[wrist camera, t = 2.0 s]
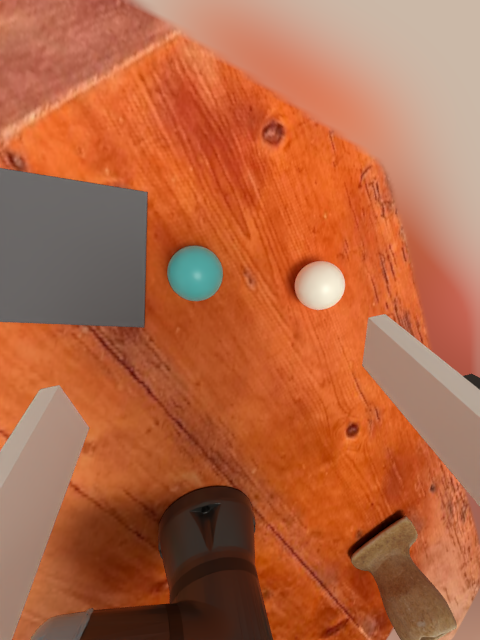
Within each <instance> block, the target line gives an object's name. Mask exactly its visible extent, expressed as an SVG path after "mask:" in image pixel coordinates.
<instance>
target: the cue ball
mask: <svg viewBox="0 0 480 640" xmlns="http://www.w3.org/2000/svg"><path fill="white" fill-rule="evenodd" d="M344 289H345V280H344V277H343V274H342V272H341V271H340V270H339V268H338V267H336V266H335V265H334V264H332V263H329V262H325V261H316V262H312V263H310V264H308V265H306V266H305V267H303V268H302V269H301V270H300V272H299V273H298V275H297V277H296V280H295V292H296V295H297V297H298V299H299V300H300V302H301V303H302V304H304V305H305V306H307V307H308V308H311V309H315V310H323V309H327V308H330V307H332V306H333V305H335V304H336V303H337V302H338V301H339V300H340V299H341V297H342V295H343V293H344Z"/></svg>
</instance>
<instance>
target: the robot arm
mask: <svg viewBox="0 0 480 640" xmlns="http://www.w3.org/2000/svg"><path fill="white" fill-rule="evenodd" d="M362 366H363V367H364V368H365V369H366V371H367V372H368V373H369V374H370V375H371V377H372V378H373V379H374V380H375V381H376V383H377V384H378V385H379V386H380V387H381V389H382V390H383V391H384V392H385V393H386V395H387V396H388V397H389V398H390V399H391V401H392V402H393V403H394V404H395V405H396V407H397V408H398V409H399V410H400V411H401V413H402V414H403V415H404V416H405V417H406V419H407V420H408V421H409V422H410V423H411V425H412V426H413V427H414V428H415V429H416V431H417V432H418V433H419V434H420V435H421V437H422V438H423V439H424V440H425V441H426V443H427V444H428V445H429V446H430V447H431V449H432V450H433V451H434V452H435V453H436V455H437V456H438V457H439V458H440V459H441V461H442V462H443V463H444V464H445V465H446V467H447V468H448V469H449V470H450V471H451V473H452V474H453V475H454V476H455V477H456V479H457V480H458V481H459V482H460V483H461V485H462V486H463V487H464V488H465V489H466V491H467V492H468V493H469V494H470V495H471V496H472V497H473V499H474V500H475V501H476V502H477V504H478V505H479V506H480V378H479V377H477V376H475V375H473V374H469V375H465V376H462V375H460V374H459V373H458V372H457V371H455V370H454V369H453V368H452V367H450V366H449V365H448V364H447V363H446V362H444V361H443V360H442V359H441V358H439V357H438V356H437V355H436V354H434V353H433V352H432V351H431V350H429V349H428V348H427V347H426V346H424V345H423V344H422V343H421V342H419V341H418V340H417V339H416V338H414V337H413V336H412V335H411V334H409V333H408V332H407V331H406V330H404V329H403V328H402V327H401V326H399V325H398V324H397V323H396V322H394V321H393V320H392V319H391V318H389V317H388V316H387V315H386V314H384V315H379V316H375V317H370V318H368V325H367V333H366V341H365V348H364V356H363V364H362ZM88 430H89V427H88V425H87V424H86V422H85V421H84V420H83V418H82V417H81V415H80V414H79V412H78V411H77V410H76V408H75V407H74V405H73V404H72V402H71V401H70V400H69V398H68V397H67V395H66V394H65V393H64V391H63V390H62V388H61V387H60V385H58V386H53V387H49V388H44V389H40V390H39V392H38V393H37V395H36V396H35V398H34V399H33V401H32V402H31V404H30V406H29V407H28V409H27V410H26V412H25V413H24V415H23V417H22V418H21V420H20V421H19V423H18V424H17V426H16V428H15V429H14V431H13V432H12V434H11V435H10V437H9V438H8V440H7V442H6V443H5V445H4V446H3V448H2V449H1V451H0V640H12V638H13V635H14V633H15V630H16V627H17V624H18V622H19V619H20V616H21V614H22V611H23V608H24V605H25V603H26V600H27V597H28V594H29V592H30V589H31V586H32V583H33V581H34V578H35V575H36V573H37V570H38V567H39V564H40V562H41V559H42V556H43V553H44V551H45V548H46V545H47V542H48V540H49V537H50V534H51V532H52V529H53V526H54V523H55V521H56V518H57V515H58V512H59V510H60V507H61V504H62V501H63V499H64V496H65V493H66V491H67V488H68V485H69V482H70V480H71V477H72V474H73V471H74V469H75V466H76V463H77V460H78V458H79V455H80V452H81V449H82V447H83V444H84V441H85V439H86V436H87V433H88ZM254 532H255V516H254V512H253V509H252V505H251V502H250V500H249V499H248V497H247V496H246V495H245V494H243V493H242V492H240V491H238V490H236V489H233V488H229V487H209V488H204V489H200V490H197V491H194V492H191V493H189V494H187V495H185V496H183V497H182V498H180V499H179V500H177V501H176V502H174V503H173V504H172V505H171V506H170V507H169V508H168V509H167V510H166V512H165V513H164V514H163V516H162V518H161V520H160V523H159V529H158V549H159V552H160V556H161V558H162V559H163V563H164V568H165V572H166V577H167V581H168V585H169V590H170V604H159V605H147V606H136V607H125V608H113V609H102V610H93V608H92V609H90V608H89V609H88V610H87V611H85V612H79V613H72V614H65V615H59V616H55V617H52V618H50V619H48V620H47V621H45V622H44V623H43V624H42V625H41V626H40V627H39V628H38V629H37V630H36V631H35V633H34V634H33V636H32V637H31V639H30V640H273V638H272V634H271V629H270V625H269V621H268V617H267V613H266V609H265V605H264V601H263V597H262V593H261V589H260V585H259V580H258V576H257V572H256V568H255V549H254Z"/></svg>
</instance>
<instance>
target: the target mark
mask: <svg viewBox="0 0 480 640" xmlns="http://www.w3.org/2000/svg"><path fill="white" fill-rule="evenodd" d="M146 233H147V192H143V191H137V190H131V189H125V188H119V187H113V186H106V185H100V184H94V183H88V182H82V181H76V180H70V179H64V178H57V177H51V176H45V175H39V174H33V173H27V172H21V171H14V170H8V169H2V168H0V322H20V323H45V324H71V325H96V326H121V327H144V321H145V277H146Z"/></svg>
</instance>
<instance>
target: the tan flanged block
mask: <svg viewBox="0 0 480 640" xmlns="http://www.w3.org/2000/svg"><path fill="white" fill-rule="evenodd" d="M416 539H417V532H416V529H415V527H414V526H413V524H412V522H411V521H410V520H409V519H408V518H407V516H404V517H402V518H401V519H399V520H398V521H396V522H395V523H393V524H392V525H390V526H388V527H387V528H386V529H384V530H383V531H381V532H380V533H378V534H377V535H376V536H374V537H373V538H372V539H370V540H369V541H368V542H366V543H365V544H364V545H363V546H362V547H360V548H359V549H358V550H357V551H356V552H355V553H354V554H353V555H352V557H351V561H352V563H353V565H354V566H355V567H356V568H358V569H360V570H364V571H369V572H371V573H372V575H373V576H374V578H375V580H376V583H377V585H378V588H379V590H380V594H381V597H382V601H383V604H384V607H385V610H386V612H387V615H388V617H389V619H390V621H391V623H392V625H393V627H394V629H395V630H396V632H397V634H398V636H399V637H400V639H401V640H437V639H439V638H441V637H442V636H444V635H445V634H447V633H449V632H451V631H452V630H454V629H456V627H457V624H456V621H455V619H454V616H453V614H452V612H451V610H450V608H449V606H448V604H447V602H446V601H445V599H444V598H443V596H442V595H441V594H440V592H439V591H438V590H437V589H436V588H435V586H434V585H433V584H432V583H431V582H430V581H429V580H428V578H427V577H426V576H425V575H424V574H423V573H422V572H421V571H420V570H419V568H418V567H417V566H416V565H415V564H414V562H413V561H412V559H411V557H410V554H409V548H410V546H411V545H412V544H413V543H414V542H415V541H416Z"/></svg>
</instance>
